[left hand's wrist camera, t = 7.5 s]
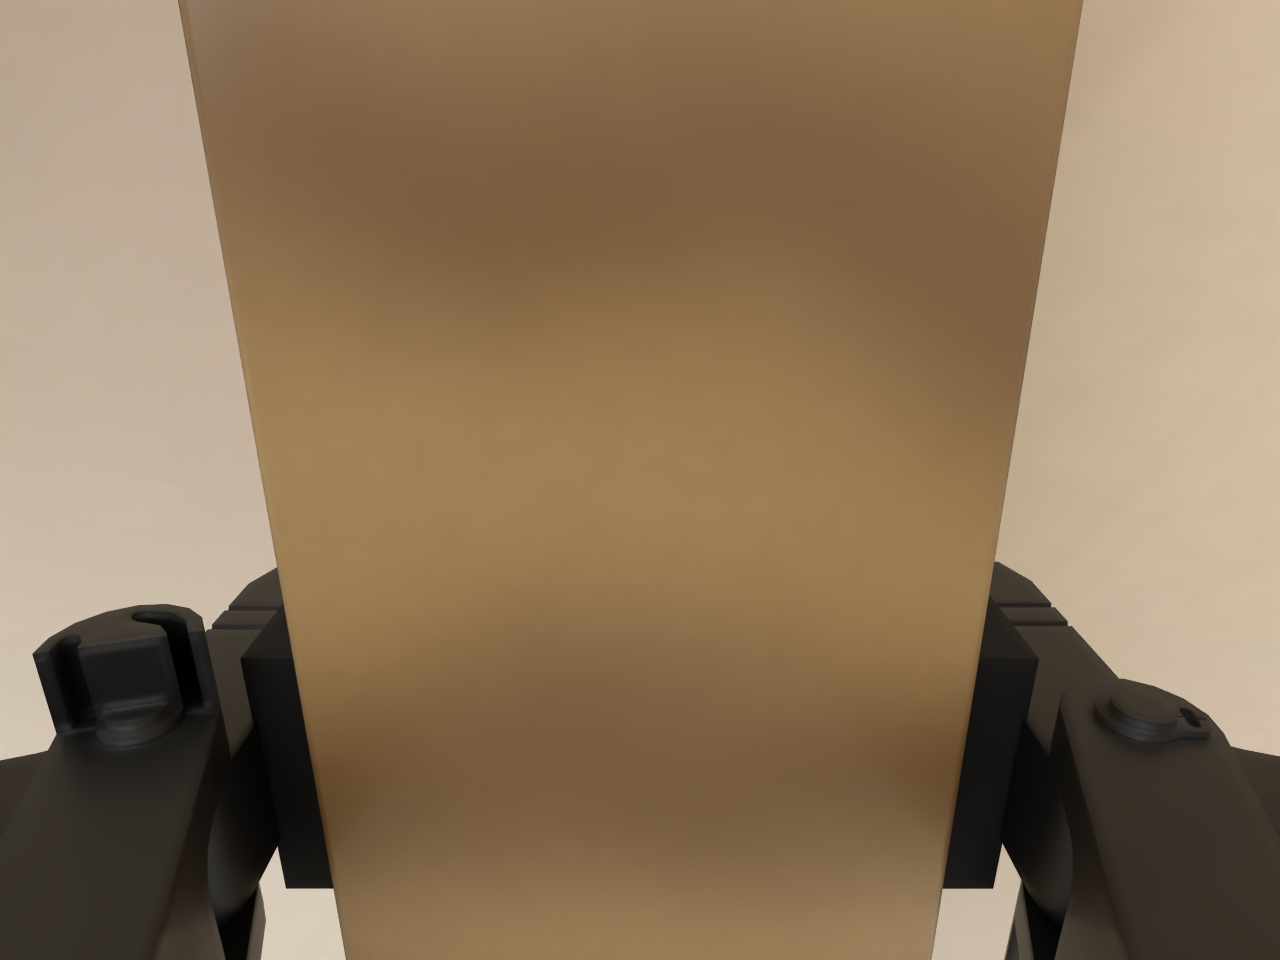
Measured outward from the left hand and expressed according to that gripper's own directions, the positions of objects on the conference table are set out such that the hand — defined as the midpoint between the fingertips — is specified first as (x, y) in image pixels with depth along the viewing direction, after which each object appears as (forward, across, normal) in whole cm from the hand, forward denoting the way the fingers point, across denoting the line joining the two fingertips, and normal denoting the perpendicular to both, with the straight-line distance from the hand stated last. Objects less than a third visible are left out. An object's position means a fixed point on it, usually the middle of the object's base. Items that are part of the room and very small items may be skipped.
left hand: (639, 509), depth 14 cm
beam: (+1, 0, -32) cm, 32 cm away
